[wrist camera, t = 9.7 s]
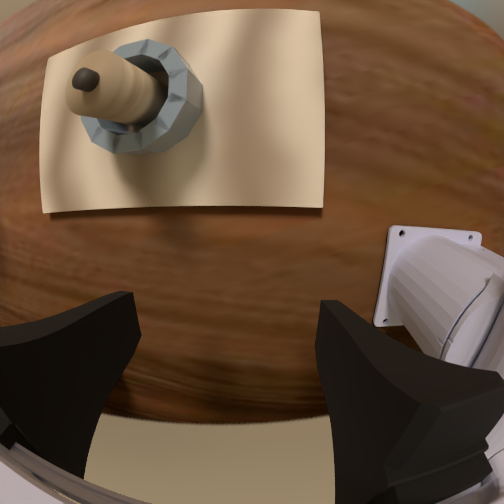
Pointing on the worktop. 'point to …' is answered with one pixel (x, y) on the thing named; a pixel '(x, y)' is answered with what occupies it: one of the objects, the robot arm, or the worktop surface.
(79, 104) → the wick peg
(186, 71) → the grey faceted ring
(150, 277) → the worktop surface
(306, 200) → the board
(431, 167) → the worktop surface
